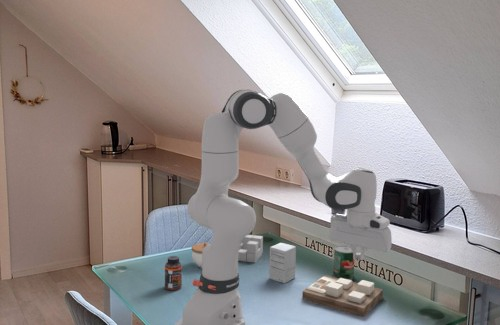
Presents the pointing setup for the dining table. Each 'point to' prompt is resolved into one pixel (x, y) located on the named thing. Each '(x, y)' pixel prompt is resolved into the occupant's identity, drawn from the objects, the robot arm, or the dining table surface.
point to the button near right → (356, 297)
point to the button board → (340, 297)
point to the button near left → (334, 289)
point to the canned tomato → (343, 263)
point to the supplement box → (282, 262)
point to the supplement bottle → (173, 273)
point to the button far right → (365, 287)
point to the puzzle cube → (251, 248)
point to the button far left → (345, 283)
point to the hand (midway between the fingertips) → (358, 259)
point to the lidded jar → (198, 253)
